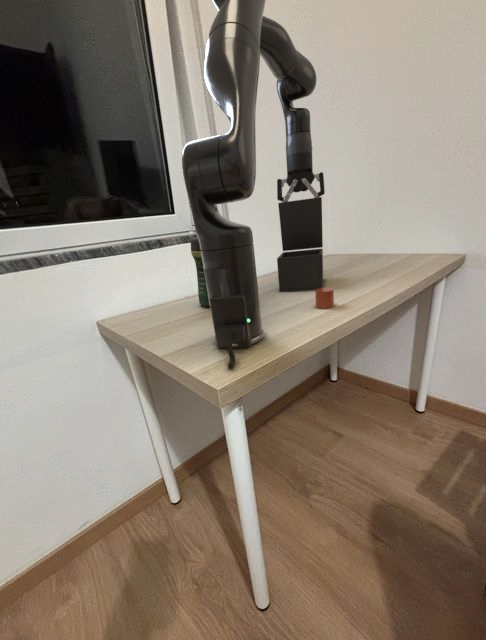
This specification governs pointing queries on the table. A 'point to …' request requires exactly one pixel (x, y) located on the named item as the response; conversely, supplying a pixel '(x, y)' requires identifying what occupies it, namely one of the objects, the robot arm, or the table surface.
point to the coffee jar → (200, 272)
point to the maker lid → (301, 224)
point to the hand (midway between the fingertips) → (301, 213)
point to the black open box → (300, 270)
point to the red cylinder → (324, 298)
